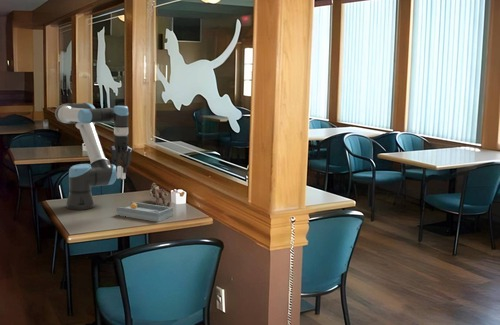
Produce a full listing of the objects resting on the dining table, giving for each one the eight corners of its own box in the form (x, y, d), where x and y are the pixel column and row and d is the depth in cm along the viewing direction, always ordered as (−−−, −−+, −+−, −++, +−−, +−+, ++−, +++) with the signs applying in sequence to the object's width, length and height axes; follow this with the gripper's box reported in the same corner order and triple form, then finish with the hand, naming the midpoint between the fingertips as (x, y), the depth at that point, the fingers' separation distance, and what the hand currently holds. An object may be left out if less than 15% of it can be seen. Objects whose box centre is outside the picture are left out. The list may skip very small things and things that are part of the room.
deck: (116, 215, 309) (116, 206, 308) (132, 209, 322) (132, 201, 321) (158, 221, 299) (158, 213, 298) (172, 215, 312) (172, 207, 311)
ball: (129, 209, 312) (129, 203, 311) (132, 208, 315) (133, 202, 314) (134, 210, 310) (134, 204, 310) (138, 209, 314) (138, 202, 313)
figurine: (158, 197, 319) (147, 176, 345) (152, 213, 322) (141, 192, 347) (177, 201, 324) (164, 181, 350) (170, 217, 327) (158, 196, 353)
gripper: (105, 134, 309) (105, 178, 313) (129, 136, 303) (129, 181, 307) (113, 133, 316) (113, 175, 319) (137, 135, 310) (137, 178, 314)
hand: (121, 178), depth 313 cm, fingers open, 2 cm apart
